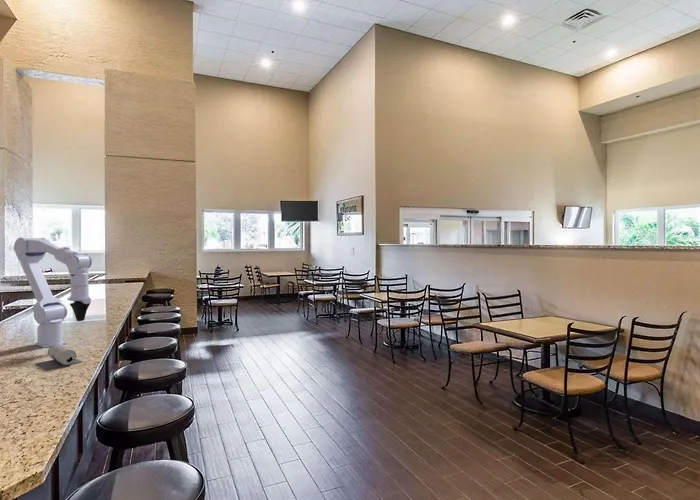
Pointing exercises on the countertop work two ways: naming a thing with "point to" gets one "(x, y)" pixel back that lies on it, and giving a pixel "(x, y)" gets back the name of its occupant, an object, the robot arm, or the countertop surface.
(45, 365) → the mat
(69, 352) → the energy drink
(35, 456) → the countertop surface
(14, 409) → the countertop surface
